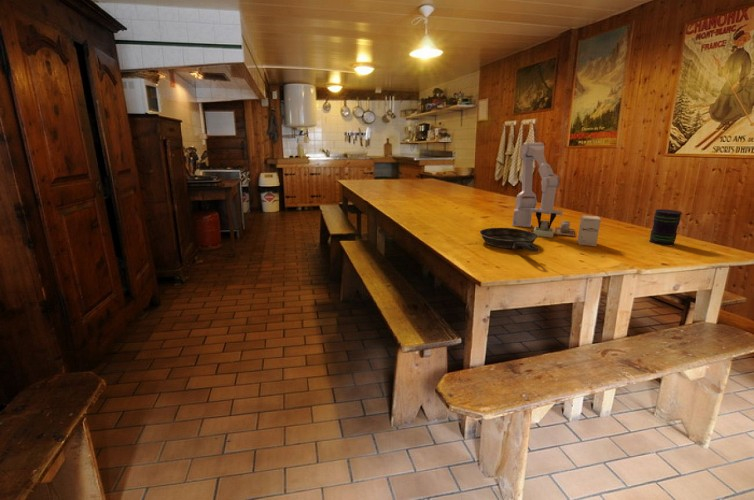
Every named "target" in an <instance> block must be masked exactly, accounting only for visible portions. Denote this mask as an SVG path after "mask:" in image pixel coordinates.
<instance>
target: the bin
mask: <svg viewBox="0 0 754 500" xmlns="http://www.w3.org/2000/svg"><path fill="white" fill-rule="evenodd" d="M532 232H533V233H535V234H537V236H538V237H543V238H549V239H550V238H552V239H553V237H554V233H555V227H554V228H552V227H550V229H548V231H541V230H540V228H538V226H534V227H533V231H532Z"/></svg>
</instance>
